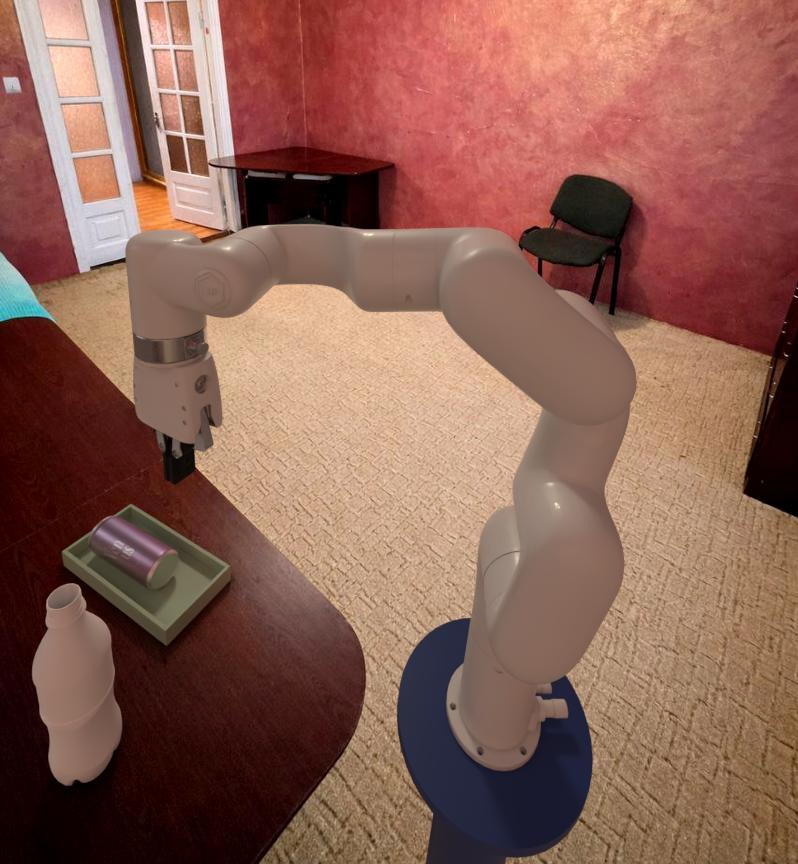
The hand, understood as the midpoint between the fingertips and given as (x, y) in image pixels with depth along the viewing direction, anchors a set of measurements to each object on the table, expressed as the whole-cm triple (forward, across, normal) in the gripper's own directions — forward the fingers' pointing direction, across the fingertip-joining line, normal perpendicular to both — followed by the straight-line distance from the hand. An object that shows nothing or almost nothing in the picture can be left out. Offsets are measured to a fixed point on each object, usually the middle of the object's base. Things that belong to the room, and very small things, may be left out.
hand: (180, 475), depth 59 cm
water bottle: (+31, +1, +14) cm, 34 cm away
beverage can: (+28, +12, -5) cm, 30 cm away
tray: (+31, +17, -5) cm, 36 cm away
